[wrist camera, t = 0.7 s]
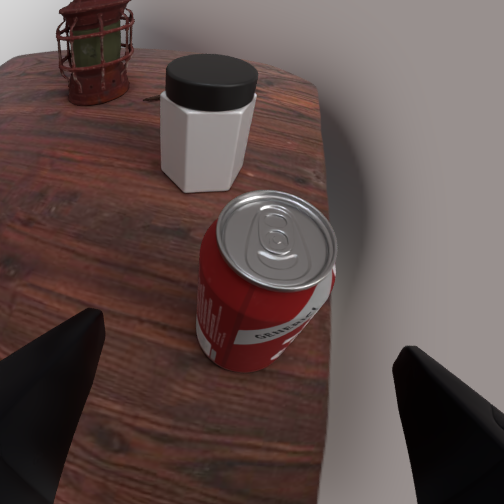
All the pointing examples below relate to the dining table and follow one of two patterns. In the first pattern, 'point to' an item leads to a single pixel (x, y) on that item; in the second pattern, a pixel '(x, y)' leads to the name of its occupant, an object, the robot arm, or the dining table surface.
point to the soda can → (262, 277)
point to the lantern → (95, 50)
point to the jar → (206, 120)
